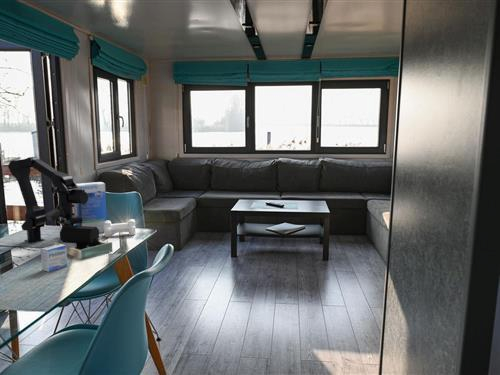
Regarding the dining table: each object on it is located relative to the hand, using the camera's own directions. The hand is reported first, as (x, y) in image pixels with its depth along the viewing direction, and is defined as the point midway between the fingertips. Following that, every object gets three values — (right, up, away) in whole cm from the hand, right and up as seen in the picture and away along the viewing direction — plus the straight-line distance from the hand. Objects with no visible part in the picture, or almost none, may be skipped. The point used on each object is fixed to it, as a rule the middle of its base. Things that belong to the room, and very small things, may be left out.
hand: (67, 235), depth 179 cm
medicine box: (+9, -9, -30) cm, 32 cm away
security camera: (+10, -5, -6) cm, 12 cm away
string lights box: (+3, -1, +22) cm, 22 cm away
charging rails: (+10, -5, -7) cm, 13 cm away
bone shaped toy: (+19, -2, +17) cm, 26 cm away
